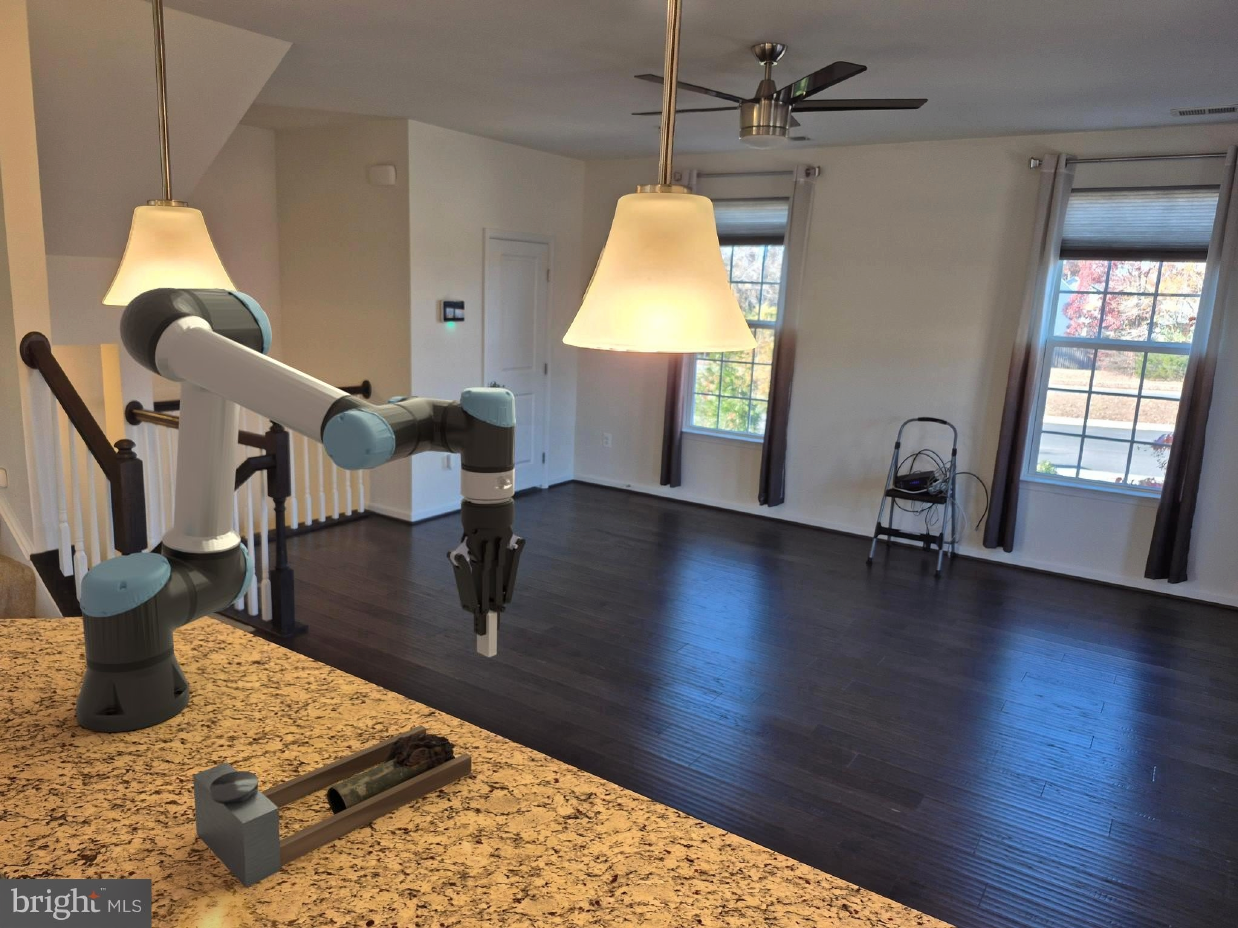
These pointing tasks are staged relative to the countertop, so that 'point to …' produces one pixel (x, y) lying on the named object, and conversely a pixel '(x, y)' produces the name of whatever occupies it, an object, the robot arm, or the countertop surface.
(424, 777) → the channel rails
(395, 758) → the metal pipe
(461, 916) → the countertop surface
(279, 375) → the robot arm
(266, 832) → the block
